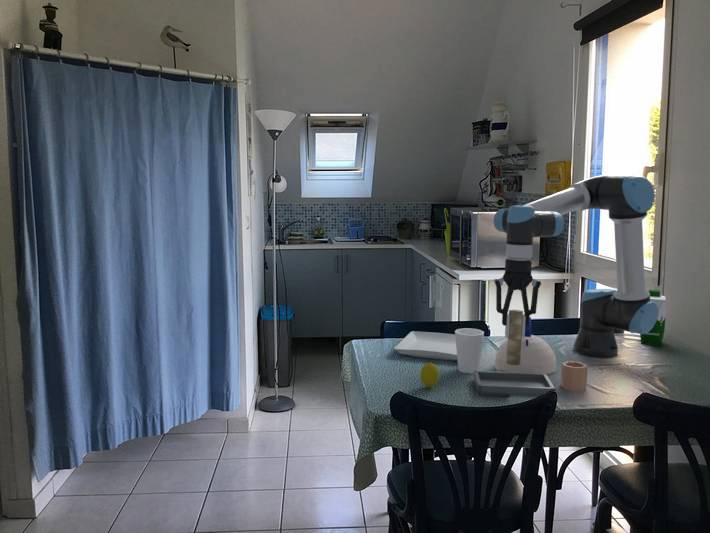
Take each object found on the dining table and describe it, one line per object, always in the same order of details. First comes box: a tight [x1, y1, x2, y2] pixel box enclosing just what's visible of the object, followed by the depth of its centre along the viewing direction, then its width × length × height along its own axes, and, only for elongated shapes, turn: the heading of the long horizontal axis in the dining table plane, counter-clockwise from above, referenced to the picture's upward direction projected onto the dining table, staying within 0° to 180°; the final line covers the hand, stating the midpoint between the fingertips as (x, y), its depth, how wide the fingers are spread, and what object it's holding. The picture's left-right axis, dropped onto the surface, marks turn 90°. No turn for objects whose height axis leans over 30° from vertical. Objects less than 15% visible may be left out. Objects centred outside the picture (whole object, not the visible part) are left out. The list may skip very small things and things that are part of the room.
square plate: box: [393, 330, 458, 362], centre depth 233 cm, size 27×27×4 cm
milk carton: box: [639, 289, 667, 346], centre depth 246 cm, size 9×9×20 cm
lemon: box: [420, 361, 440, 389], centre depth 193 cm, size 6×6×8 cm
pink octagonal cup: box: [560, 360, 589, 392], centre depth 192 cm, size 7×7×8 cm
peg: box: [507, 309, 524, 365], centre depth 191 cm, size 4×4×16 cm
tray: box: [473, 370, 556, 398], centre depth 193 cm, size 22×14×3 cm, turn 84°
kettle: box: [493, 316, 557, 375], centre depth 212 cm, size 20×21×18 cm
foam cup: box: [454, 327, 485, 374], centre depth 210 cm, size 10×9×13 cm
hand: (514, 336), depth 191 cm, fingers closed on peg, 4 cm apart
